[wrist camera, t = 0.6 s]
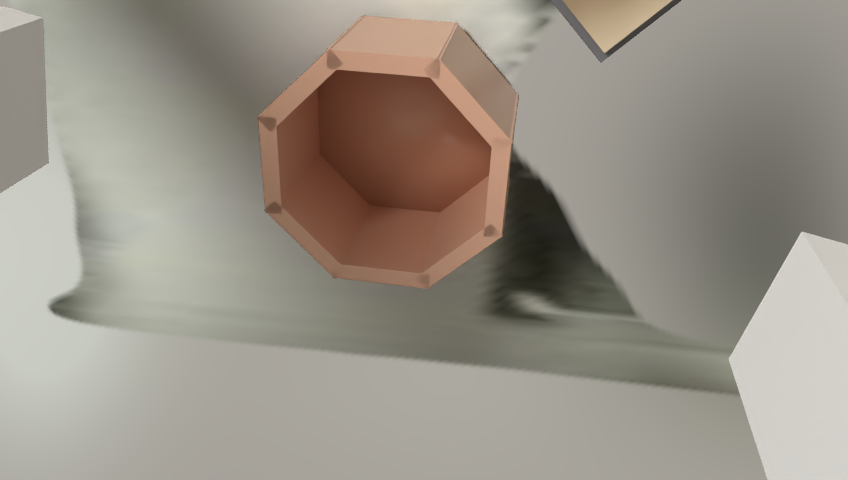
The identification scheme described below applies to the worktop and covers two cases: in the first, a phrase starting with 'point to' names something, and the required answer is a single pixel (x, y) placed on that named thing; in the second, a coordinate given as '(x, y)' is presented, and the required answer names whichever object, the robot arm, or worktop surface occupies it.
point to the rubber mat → (590, 41)
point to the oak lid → (613, 17)
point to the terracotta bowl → (392, 152)
